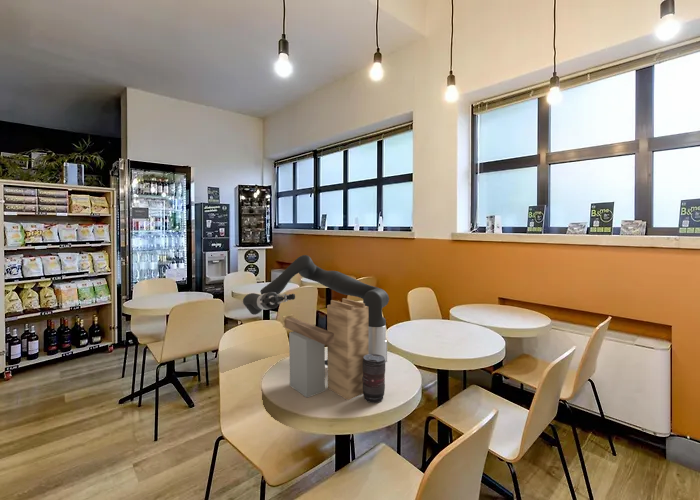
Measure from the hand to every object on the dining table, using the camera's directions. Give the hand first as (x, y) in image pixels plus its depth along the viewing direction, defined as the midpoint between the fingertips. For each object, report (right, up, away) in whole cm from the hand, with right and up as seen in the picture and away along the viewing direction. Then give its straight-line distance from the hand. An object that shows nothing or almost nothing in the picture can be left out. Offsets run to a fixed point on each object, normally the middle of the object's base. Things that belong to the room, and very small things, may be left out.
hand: (285, 297), depth 145 cm
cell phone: (+20, -31, +13) cm, 39 cm away
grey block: (+11, -33, -14) cm, 37 cm away
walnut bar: (+11, -12, -16) cm, 22 cm away
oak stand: (+27, -33, -16) cm, 45 cm away
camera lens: (+36, -33, -22) cm, 54 cm away
